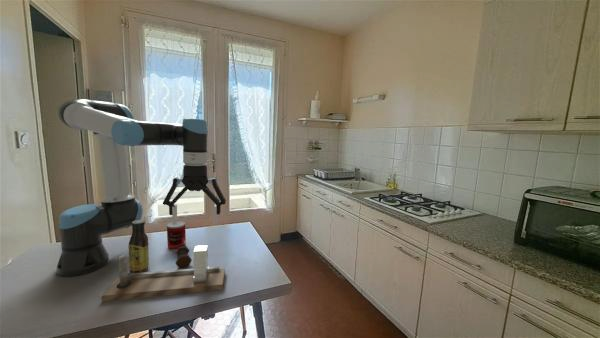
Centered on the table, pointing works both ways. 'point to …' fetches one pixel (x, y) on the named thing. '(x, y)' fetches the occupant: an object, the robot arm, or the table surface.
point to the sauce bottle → (138, 248)
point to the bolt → (183, 257)
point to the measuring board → (160, 283)
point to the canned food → (176, 235)
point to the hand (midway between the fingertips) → (195, 223)
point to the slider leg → (200, 263)
